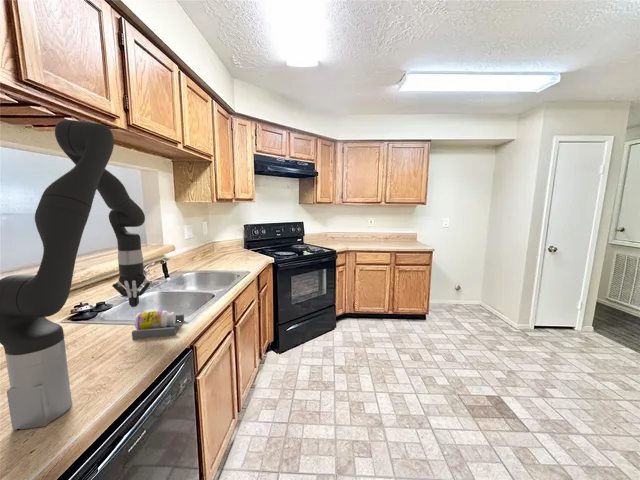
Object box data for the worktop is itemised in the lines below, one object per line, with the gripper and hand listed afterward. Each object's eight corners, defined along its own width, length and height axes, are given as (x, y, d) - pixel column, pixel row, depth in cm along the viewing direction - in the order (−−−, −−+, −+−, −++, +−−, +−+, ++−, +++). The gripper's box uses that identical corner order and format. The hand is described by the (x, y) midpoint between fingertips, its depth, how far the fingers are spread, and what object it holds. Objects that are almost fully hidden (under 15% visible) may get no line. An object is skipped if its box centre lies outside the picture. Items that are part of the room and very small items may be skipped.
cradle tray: (174, 335, 100) (174, 328, 100) (132, 339, 97) (131, 331, 97) (184, 320, 113) (183, 314, 112) (147, 323, 110) (146, 316, 109)
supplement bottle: (137, 309, 104) (174, 305, 108) (141, 320, 107) (177, 316, 111) (132, 322, 99) (171, 319, 102) (136, 334, 102) (174, 330, 106)
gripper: (104, 264, 94) (109, 311, 97) (146, 263, 97) (150, 308, 100) (115, 260, 102) (119, 303, 104) (154, 259, 105) (157, 301, 107)
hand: (134, 306), depth 102 cm, fingers closed
